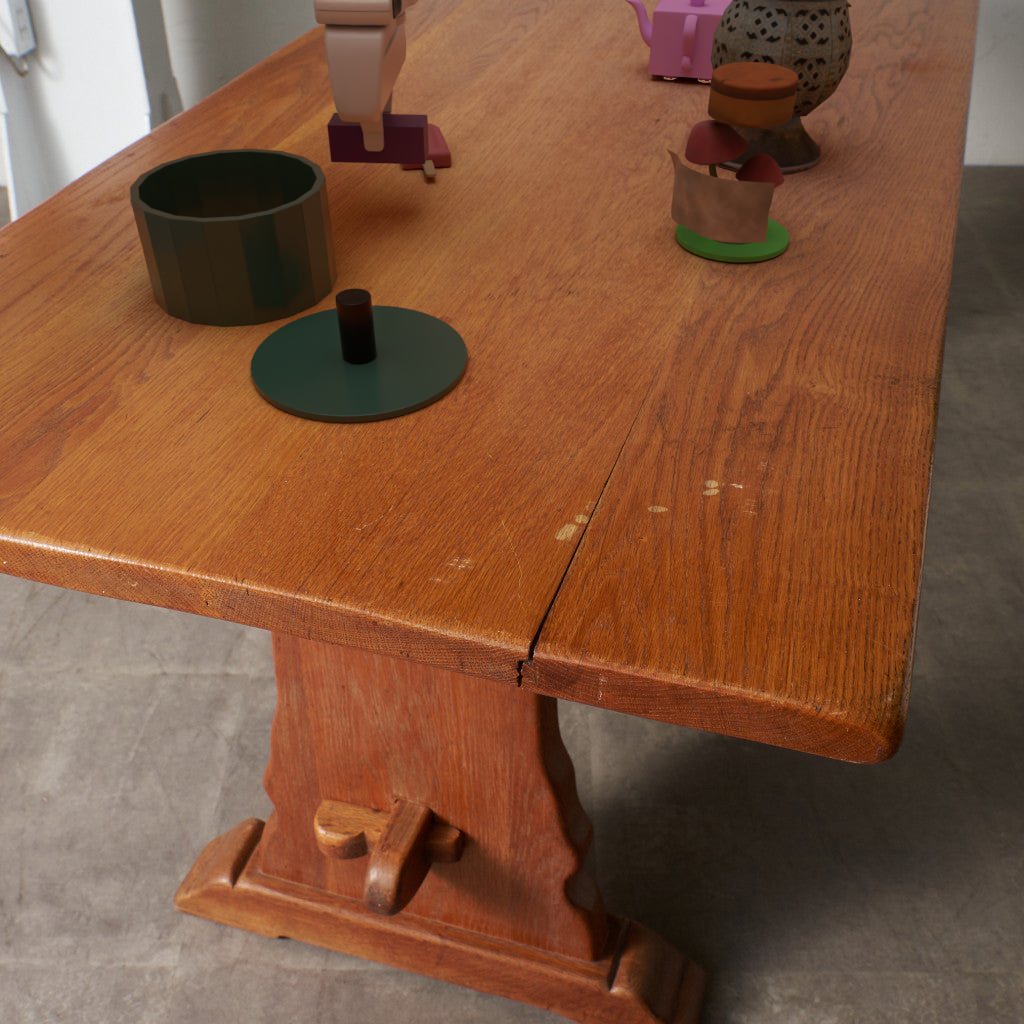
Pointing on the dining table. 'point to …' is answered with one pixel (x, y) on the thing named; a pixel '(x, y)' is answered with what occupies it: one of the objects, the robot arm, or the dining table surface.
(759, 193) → the mushroom toy stack
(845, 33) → the lantern
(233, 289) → the bin
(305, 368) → the lid
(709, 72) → the teapot
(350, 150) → the dark purple rectangular block
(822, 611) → the dining table surface
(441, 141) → the popsicle
